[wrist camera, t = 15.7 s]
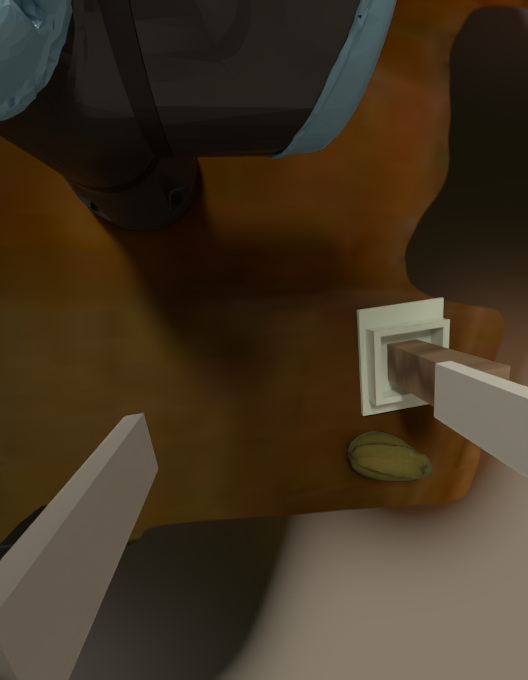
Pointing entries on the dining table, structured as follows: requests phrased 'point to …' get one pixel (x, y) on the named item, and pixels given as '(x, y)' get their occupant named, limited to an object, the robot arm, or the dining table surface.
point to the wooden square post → (430, 366)
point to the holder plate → (393, 327)
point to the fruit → (387, 458)
